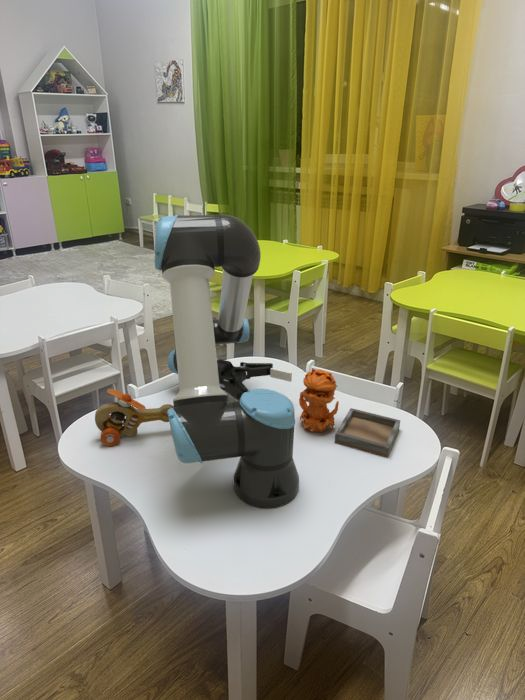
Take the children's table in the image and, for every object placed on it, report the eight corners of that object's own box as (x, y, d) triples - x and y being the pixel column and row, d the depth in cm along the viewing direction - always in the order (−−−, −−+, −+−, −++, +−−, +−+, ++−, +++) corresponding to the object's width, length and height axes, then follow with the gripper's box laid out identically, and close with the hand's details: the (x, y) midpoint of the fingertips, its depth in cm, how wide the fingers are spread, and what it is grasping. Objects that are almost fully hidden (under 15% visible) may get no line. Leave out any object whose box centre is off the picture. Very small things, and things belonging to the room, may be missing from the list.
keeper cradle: (387, 457, 120) (389, 448, 119) (334, 442, 126) (335, 433, 125) (398, 429, 132) (400, 420, 131) (349, 416, 137) (350, 408, 136)
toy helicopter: (99, 430, 129) (92, 386, 124) (176, 421, 134) (173, 378, 128) (97, 448, 122) (89, 402, 116) (178, 438, 127) (175, 393, 121)
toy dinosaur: (289, 430, 131) (292, 372, 123) (305, 412, 139) (308, 356, 132) (327, 442, 126) (333, 382, 118) (341, 422, 135) (347, 365, 127)
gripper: (236, 365, 153) (297, 380, 145) (193, 401, 133) (261, 421, 124) (236, 344, 150) (299, 357, 142) (191, 377, 129) (262, 396, 121)
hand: (281, 387), depth 133 cm, fingers open, 13 cm apart
